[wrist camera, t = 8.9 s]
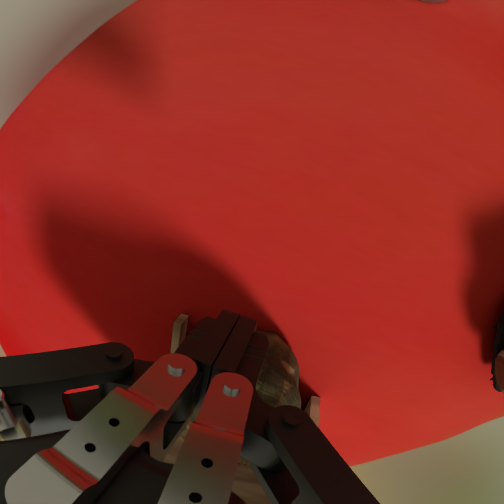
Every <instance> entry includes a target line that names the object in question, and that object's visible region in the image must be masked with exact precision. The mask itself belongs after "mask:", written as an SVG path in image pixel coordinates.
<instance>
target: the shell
mask: <svg viewBox="0 0 504 504" xmlns="http://www.w3.org/2000/svg"><path fill="white" fill-rule="evenodd" d="M255 332H257V333H260V334H264V335H267V338H268V341H269V347H268V350H267V353H266V356H265V359H264V363H263V366H262V369H261V372H260V375H259V378H258V381H257V384H256V392H257V394H258V396H259V397H260V398H261V399H262V400H263V401H264V402H265V403H267V404H268V405H270V406H272V407H274V408H275V407H277V406H281V405H292V406H295V407H298V408H300V409H301V397H300V393H299V389H298V385H299V367H298V362H297V360H296V357H295V355H294V354H293V352H292V351H291V349H290V347H289V346H288V345H287V344H286V343H285V342H284V341H283V340H282V339H281V337H280V336H279V335H278V334H276V333H275V332H267V331H255ZM199 410H200V409H199V408H195V409H194V411H193V413H192V415H191V416H190V421H189V423H188V425H187V426H186V428H185V429H184V430H183V432H182V433H181V435H180V436H179V437H180V438H181V439H182V440H183V441H184V439H185V437H186V435H187V432H188V430H189V427H190V425H191V423H192V422H193V421H195V420H196V418H197V415H198V413H199ZM239 464H242V465H246V466H250V464H249V461H248V460H247V459H245V458H243V457H242V456H240V457H239V461H238V465H239Z"/></svg>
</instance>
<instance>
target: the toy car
mask: <svg viewBox="0 0 504 504" xmlns="http://www.w3.org/2000/svg"><path fill="white" fill-rule="evenodd" d="M493 328H494V329H495V328H497V332H496V337H494V343H493V358H492V369H491V373H492V374H493V377H492V378H491V379H490V381H491V380H493V386H494V388H495V389H496V390H497V391H498V392H502V391H503V392H504V314H503V315H501V316H500V318H499V320H498V324H497V325H495V326H493Z"/></svg>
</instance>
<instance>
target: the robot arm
mask: <svg viewBox="0 0 504 504" xmlns="http://www.w3.org/2000/svg"><path fill="white" fill-rule="evenodd" d="M420 1H423V2H430V3H440V2H444V1H447V0H420ZM257 324H258V320H255V319H252V318H249V317H246V316H242V315H241V316H240V315H239V314H236V313H233V312H230V311H226V310H222V312H221V313H220V315H219V316H218V318H217V319H213V318H210V317H206V318H204V319H202V320H200V321H198V322H197V324H196V325H195V326H194V328H193V329H192V330H191V331H190V333H189V335H187V337H186V338H185V339H184V340H183V342H182V343H181V344H180V346H179V347H178V348H177V350H176V351H175V352H174V353H170V354H165V355H163V356H161V357H160V358H159V359H158V360H157V361H156V362H149V361H143V360H137V359H134V355H133V352H132V350H131V349H130V348H129V347H127V346H125V345H123V344H120V343H115V342H111V343H104V344H98V345H91V346H85V347H78V348H71V349H64V350H57V351H50V352H42V353H34V354H25V355H16V356H7V357H0V504H246V503H245V502H244V501H243V500H242V499H241V498H240V497H239V496H238V495H237V494H235V493H234V492H232V491H231V490H232V486H233V482H234V478H235V474H236V470H237V466H238V461H239V457H240V456H242V457H243V458H245V459H247V460H248V461H249V464H250V468H251V470H252V471H253V473H254V475H255V477H256V478H257V480H258V482H259V484H260V485H261V487H262V489H263V490H264V492H265V494H266V495H267V497H268V499H269V500H270V502H271V504H380V503H379V502H378V501H377V500H376V498H375V497H374V496H373V495H372V494H371V492H370V491H369V490H368V489H367V488H366V487H365V485H364V484H363V483H362V482H361V481H360V479H359V478H358V477H357V476H356V475H355V473H354V472H353V471H352V470H351V468H350V467H349V466H348V465H347V463H346V462H345V461H344V460H343V458H342V457H341V456H340V455H339V453H338V452H337V451H336V450H335V448H334V447H333V446H332V445H331V443H330V442H329V441H328V439H327V438H326V437H325V436H324V434H323V433H322V432H321V430H320V429H319V428H318V427H317V425H316V424H315V423H314V421H313V420H312V419H311V417H310V416H309V415H308V414H307V413H306V412H305V411H304V410H302V409H300V408H298V407H295V406H292V405H281V406H277V407H275V408H274V407H272V406H270V405H268V404H267V403H265V402H264V401H263V400H262V399H261V398H260V397H259V396H258V394H257V392H256V384H257V381H258V378H259V375H260V372H261V369H262V366H263V363H264V359H265V356H266V353H267V350H268V347H269V341H268V338H267V335H264V334H260V333H257V332H255V331H256V328H257ZM93 385H98V387H99V388H98V389H93V390H88V391H82V392H77V393H71V394H64V392H65V391H67V390H71V389H77V388H82V387H88V386H93ZM195 408H199V409H200V410H199V413H198V415H197V418H196V420H195V421H193V422H192V423H191V425H190V427H189V430H188V432H187V435H186V437H185V439H184V442H183V444H182V447H181V449H180V451H179V454H178V456H177V459H176V461H175V463H174V464H171V463H166V462H164V459H165V457H166V455H167V454H168V452H169V451H170V449H171V448H172V446H173V445H174V444H175V442H176V441H177V439H178V438H179V436H180V435H181V433H182V432H183V430H184V429H185V428H186V426H187V425H188V423H189V421H190V416H191V415H192V413H193V411H194V409H195Z"/></svg>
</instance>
